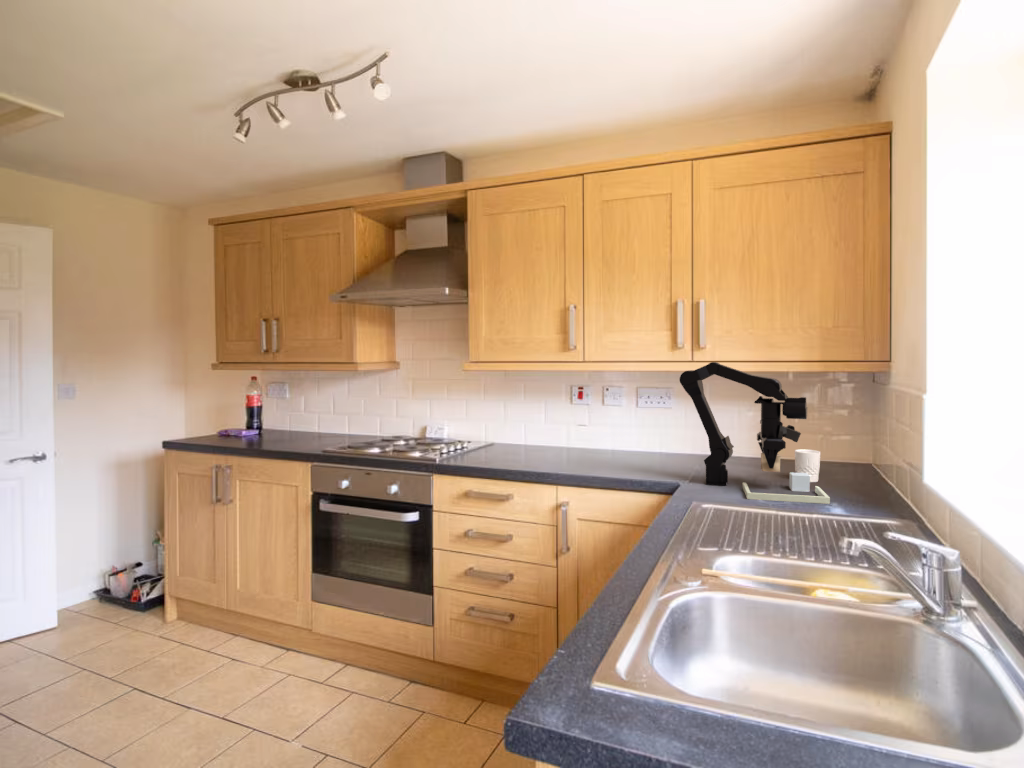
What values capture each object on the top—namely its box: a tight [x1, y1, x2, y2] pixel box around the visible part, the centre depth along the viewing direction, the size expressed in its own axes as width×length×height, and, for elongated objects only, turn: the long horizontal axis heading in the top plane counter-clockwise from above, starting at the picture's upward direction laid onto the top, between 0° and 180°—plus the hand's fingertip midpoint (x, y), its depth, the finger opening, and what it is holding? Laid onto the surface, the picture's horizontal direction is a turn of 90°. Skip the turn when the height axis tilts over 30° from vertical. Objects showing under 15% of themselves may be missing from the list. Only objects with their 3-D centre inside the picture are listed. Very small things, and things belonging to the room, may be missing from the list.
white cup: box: [794, 448, 822, 483], centre depth 197 cm, size 8×8×10 cm
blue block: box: [788, 471, 811, 493], centre depth 184 cm, size 5×5×5 cm
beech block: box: [760, 452, 781, 473], centre depth 185 cm, size 5×5×5 cm
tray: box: [742, 482, 831, 505], centre depth 176 cm, size 22×15×2 cm
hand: (770, 466), depth 185 cm, fingers closed on beech block, 5 cm apart
